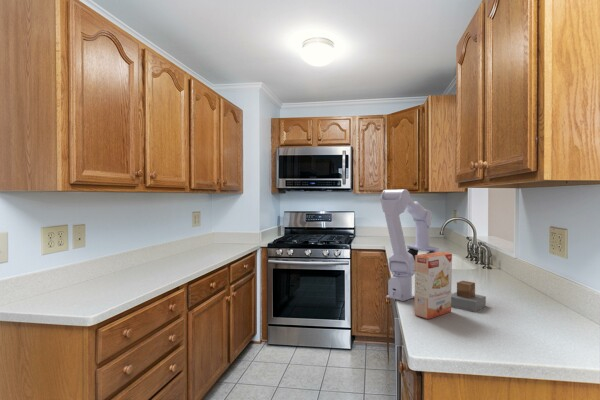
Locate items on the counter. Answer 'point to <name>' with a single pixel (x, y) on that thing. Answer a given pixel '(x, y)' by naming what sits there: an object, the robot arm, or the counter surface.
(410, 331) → the counter surface
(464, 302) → the slate block
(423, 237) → the robot arm
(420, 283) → the cracker box
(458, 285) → the walnut block
